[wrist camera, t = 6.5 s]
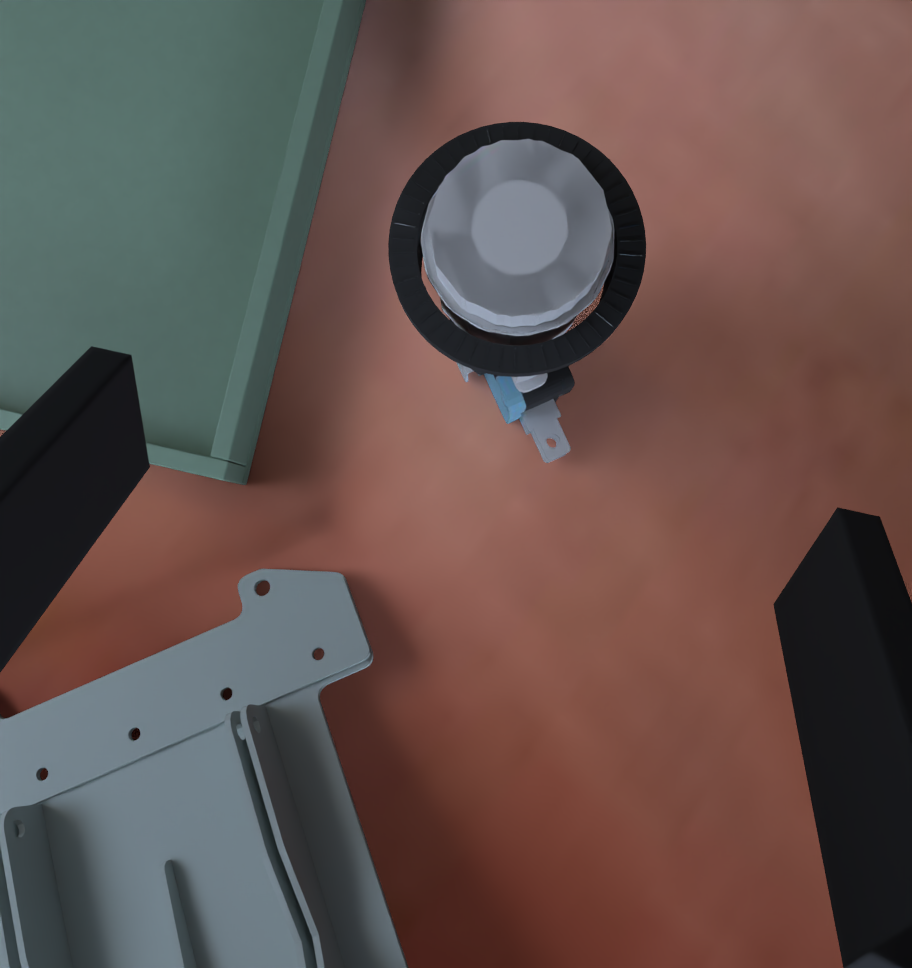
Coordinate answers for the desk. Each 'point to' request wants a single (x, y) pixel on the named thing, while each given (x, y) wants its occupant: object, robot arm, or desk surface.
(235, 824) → the metal bracket
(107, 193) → the tray
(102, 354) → the robot arm
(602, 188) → the push button
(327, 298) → the desk surface
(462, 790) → the desk surface
